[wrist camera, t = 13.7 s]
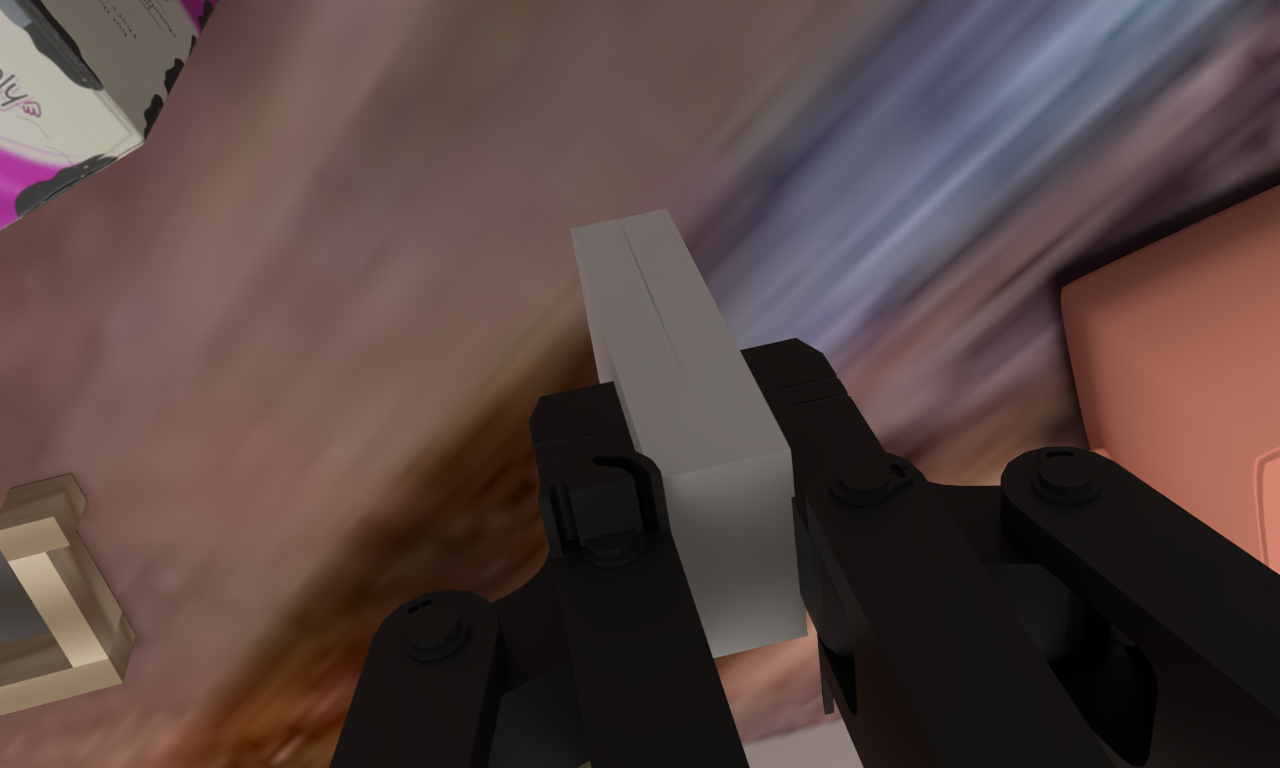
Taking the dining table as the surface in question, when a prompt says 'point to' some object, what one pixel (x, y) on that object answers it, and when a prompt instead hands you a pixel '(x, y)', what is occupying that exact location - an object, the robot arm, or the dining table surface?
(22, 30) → the candy bar box
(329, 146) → the dining table surface
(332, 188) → the dining table surface
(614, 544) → the robot arm
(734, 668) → the dining table surface
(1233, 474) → the teapot
